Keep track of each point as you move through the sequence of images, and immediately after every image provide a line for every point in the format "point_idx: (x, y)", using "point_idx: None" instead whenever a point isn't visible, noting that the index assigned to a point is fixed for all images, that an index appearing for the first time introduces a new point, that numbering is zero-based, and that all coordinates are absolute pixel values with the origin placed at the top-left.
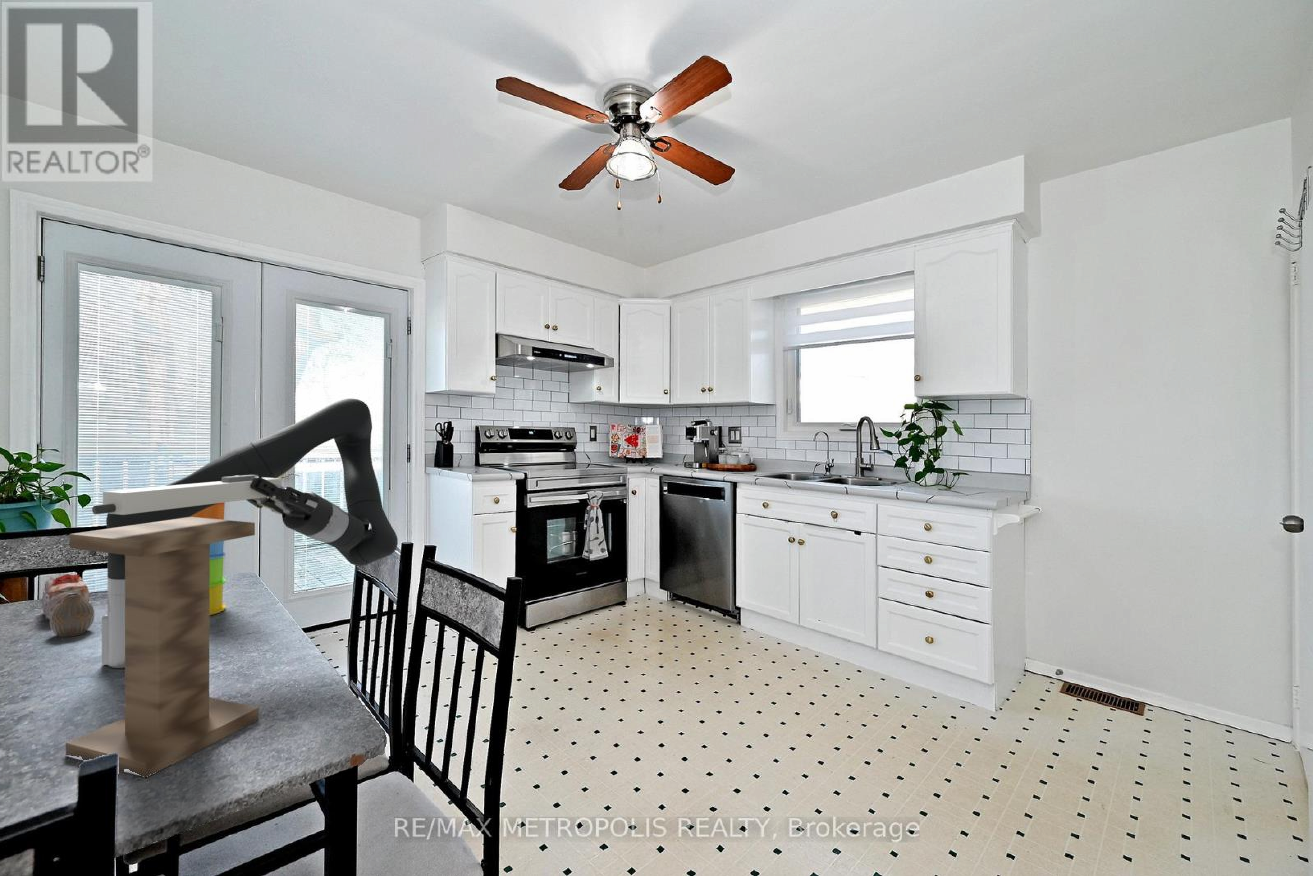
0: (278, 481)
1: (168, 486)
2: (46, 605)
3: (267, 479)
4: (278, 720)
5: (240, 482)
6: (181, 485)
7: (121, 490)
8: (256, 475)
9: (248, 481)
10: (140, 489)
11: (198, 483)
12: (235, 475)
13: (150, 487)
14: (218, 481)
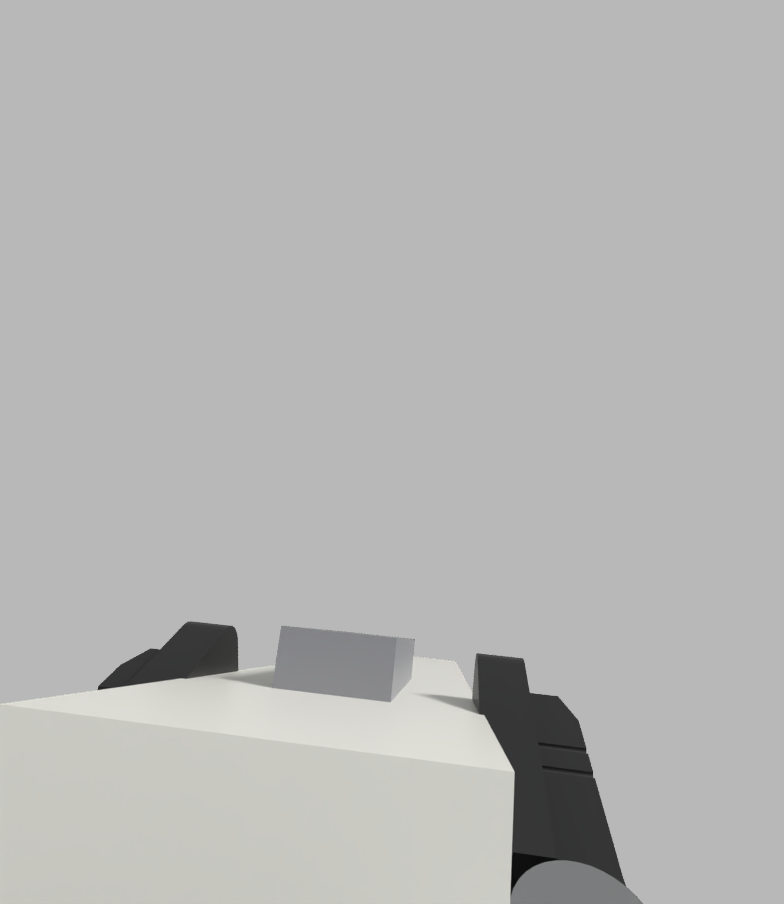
0: (33, 757)
1: (431, 665)
2: None
3: (183, 689)
4: None
5: (268, 666)
6: (420, 666)
7: (437, 660)
8: (288, 628)
9: (253, 669)
10: (415, 659)
11: (444, 674)
12: (522, 659)
13: (451, 665)
14: (457, 684)
